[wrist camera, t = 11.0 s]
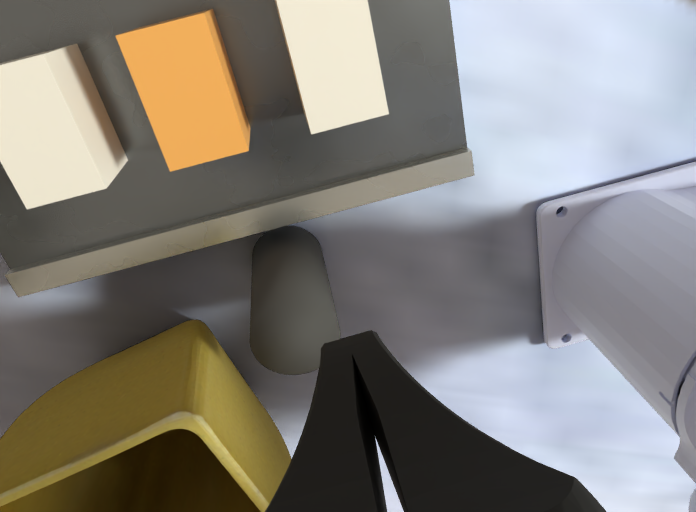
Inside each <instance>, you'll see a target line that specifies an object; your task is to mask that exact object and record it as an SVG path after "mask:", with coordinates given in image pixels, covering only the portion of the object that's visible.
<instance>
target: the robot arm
mask: <svg viewBox="0 0 696 512" xmlns="http://www.w3.org/2000/svg"><path fill="white" fill-rule="evenodd" d="M562 206H563V210H562V211H561V213H559V214H556V211H557V210H558V208H560V207H562ZM536 219H537V235H538V251H539V267H540V283H541V300H542V316H543V332H544V341H545V343H546V344H547V346H548V347H549V348H552V349H555V348H560V347H563V346H567V345H571V344H574V343H578V342H582V341H585V340H590V341H591V342H592V343H593V344H594V345H595V346H596V347H597V348H598V349H599V350H600V352H601V353H602V354H603V355H604V356H605V357H606V358H607V359H608V360H609V361H610V362H611V363H612V364H613V366H614V367H615V368H616V369H617V370H618V371H619V372H620V373H621V374H622V375H623V376H624V377H625V379H626V380H627V381H628V382H629V383H630V384H631V385H632V386H633V387H634V388H635V389H636V390H637V392H638V393H639V394H640V395H641V396H642V397H643V398H644V399H645V400H646V401H647V402H648V403H649V404H650V406H651V407H652V408H653V409H654V410H655V411H656V412H657V413H658V414H659V415H660V416H661V417H662V419H663V420H664V421H665V422H666V423H667V424H668V425H669V426H670V427H671V428H672V429H673V430H674V431H675V433H676V434H677V435H678V436H679V437H680V444H679V448H678V450H677V452H676V454H675V456H674V459H675V460H676V461H677V463H678V464H679V465H680V466H681V467H682V468H683V469H684V471H685V472H686V473H687V474H688V475H689V476H690V477H691V479H692V480H693V481H694V482H695V483H696V162H692V163H688V164H685V165H681V166H677V167H673V168H670V169H666V170H662V171H659V172H655V173H651V174H647V175H644V176H640V177H636V178H633V179H629V180H625V181H621V182H618V183H614V184H610V185H607V186H603V187H599V188H596V189H592V190H588V191H584V192H581V193H577V194H573V195H570V196H566V197H562V198H558V199H555V200H551V201H547V202H545V203H543V204H541V205H540V206H539V208H538V210H537V213H536ZM566 334H567V335H566ZM564 335H566V337H564V338H562V337H563V336H564ZM375 437H376V439H377V442H378V445H379V447H380V450H381V453H382V455H383V458H384V460H385V463H386V466H387V468H388V471H389V474H390V476H391V479H392V481H393V484H394V487H395V489H396V492H397V495H398V497H399V500H400V502H401V505H402V508H403V510H404V512H606V511H605V509H604V508H603V507H602V506H601V505H600V503H599V502H598V501H597V500H596V499H595V498H594V497H593V495H592V494H591V493H590V492H589V491H588V490H587V489H586V488H585V487H584V486H583V485H582V484H581V483H580V482H579V481H578V480H577V479H576V478H575V477H573V476H570V475H568V474H565V473H563V472H560V471H558V470H556V469H553V468H551V467H548V466H546V465H543V464H541V463H539V462H536V461H534V460H532V459H530V458H528V457H526V456H524V455H522V454H520V453H518V452H516V451H514V450H512V449H511V448H509V447H507V446H505V445H504V444H502V443H500V442H499V441H497V440H495V439H493V438H492V437H490V436H488V435H487V434H485V433H483V432H481V431H480V430H478V429H477V428H475V427H474V426H472V425H471V424H469V423H468V422H466V421H465V420H463V419H462V418H461V417H459V416H458V415H457V414H455V413H454V412H452V411H451V410H450V409H448V408H447V407H446V406H445V405H443V404H442V403H441V402H440V401H438V400H437V399H436V398H435V397H434V396H433V395H431V394H430V393H429V392H428V391H427V390H426V389H425V388H424V387H422V386H421V385H420V384H419V383H418V382H417V381H416V380H415V379H414V378H413V377H412V376H411V375H410V374H409V373H408V372H407V371H406V370H405V369H404V368H403V367H402V366H401V365H400V363H399V362H398V361H397V360H396V359H395V358H394V357H393V355H392V354H391V353H390V352H389V351H388V349H387V348H386V347H385V345H384V344H383V343H382V341H381V340H380V338H379V336H378V335H377V333H376V332H374V331H372V330H371V331H367V332H364V333H360V334H357V335H353V336H349V337H346V338H342V339H339V340H335V341H332V342H328V343H324V344H323V346H322V347H321V357H320V366H319V372H318V377H317V383H316V387H315V391H314V395H313V399H312V403H311V407H310V410H309V413H308V416H307V420H306V423H305V426H304V429H303V432H302V435H301V437H300V440H299V443H298V445H297V448H296V450H295V453H294V455H293V457H292V460H291V462H290V464H289V467H288V469H287V471H286V473H285V475H284V477H283V479H282V481H281V483H280V485H279V487H278V489H277V491H276V493H275V495H274V497H273V498H272V500H271V502H270V504H269V506H268V507H267V509H266V510H265V512H387V508H386V502H385V496H384V490H383V483H382V477H381V471H380V465H379V459H378V453H377V446H376V440H375ZM689 512H696V489H695V490H694V491H693V493H692V495H691V497H690V502H689Z"/></svg>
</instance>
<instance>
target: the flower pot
mask: <svg viewBox="0 0 696 512" xmlns="http://www.w3.org/2000/svg"><path fill="white" fill-rule="evenodd" d="M290 462H291V456H290V454H289V451H288V449H287V446H286V444H285V442H284V440H283V438H282V436H281V434H280V432H279V430H278V429H277V427H276V425H275V423H274V422H273V420H272V419H271V417H270V415H269V414H268V413H267V411H266V410H265V408H264V407H263V405H262V404H261V403H260V401H259V400H258V399H257V397H256V396H255V394H254V393H253V391H252V390H251V389H250V387H249V386H248V384H247V383H246V382H245V380H244V379H243V377H242V376H241V374H240V373H239V371H238V370H237V369H236V367H235V366H234V364H233V363H232V361H231V360H230V359H229V357H228V356H227V354H226V353H225V351H224V350H223V348H222V347H221V345H220V344H219V343H218V341H217V340H216V338H215V337H214V335H213V334H212V332H211V331H210V329H209V328H208V327H207V325H206V324H205V323H203V322H202V321H200V320H189V321H185V322H183V323H181V324H179V325H177V326H175V327H173V328H171V329H168V330H166V331H164V332H162V333H160V334H158V335H156V336H154V337H152V338H149V339H147V340H145V341H143V342H141V343H139V344H136V345H134V346H132V347H130V348H128V349H126V350H123V351H121V352H119V353H117V354H115V355H112V356H110V357H108V358H105V359H103V360H101V361H99V362H97V363H95V364H93V365H91V366H89V367H87V368H85V369H83V370H81V371H79V372H78V373H76V374H74V375H72V376H71V377H69V378H67V379H65V380H64V381H62V382H61V383H59V384H58V385H56V386H55V387H53V388H52V389H50V390H49V391H48V392H46V393H45V394H44V395H42V396H41V397H40V398H38V399H37V400H36V401H35V402H34V403H32V404H31V405H30V406H29V407H28V408H27V409H26V410H25V411H24V412H23V413H22V414H21V415H20V416H19V417H18V418H17V419H16V420H15V421H14V422H13V424H12V425H11V426H10V427H9V429H8V430H7V431H6V432H5V434H4V435H3V436H2V437H1V439H0V512H265V510H266V509H267V507H268V506H269V504H270V502H271V500H272V498H273V497H274V495H275V493H276V491H277V489H278V487H279V485H280V483H281V481H282V479H283V477H284V475H285V473H286V471H287V469H288V467H289V464H290Z"/></svg>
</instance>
